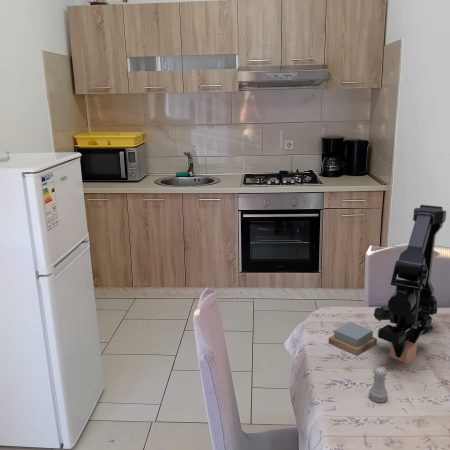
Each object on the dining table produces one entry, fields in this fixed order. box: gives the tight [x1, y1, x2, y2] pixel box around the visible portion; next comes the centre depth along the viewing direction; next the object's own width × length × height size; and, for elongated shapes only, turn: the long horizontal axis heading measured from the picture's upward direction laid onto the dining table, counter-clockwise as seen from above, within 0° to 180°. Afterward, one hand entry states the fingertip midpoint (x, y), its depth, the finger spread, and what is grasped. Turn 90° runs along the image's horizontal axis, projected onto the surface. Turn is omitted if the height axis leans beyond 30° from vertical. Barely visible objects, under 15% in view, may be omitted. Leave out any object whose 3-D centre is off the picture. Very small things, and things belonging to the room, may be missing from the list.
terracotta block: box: [389, 341, 418, 364], centre depth 132 cm, size 5×5×4 cm
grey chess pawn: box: [368, 365, 389, 404], centre depth 114 cm, size 4×4×8 cm
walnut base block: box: [328, 334, 378, 357], centre depth 140 cm, size 10×10×2 cm
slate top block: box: [333, 321, 374, 347], centre depth 140 cm, size 8×8×2 cm
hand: (403, 353), depth 132 cm, fingers closed on terracotta block, 5 cm apart
